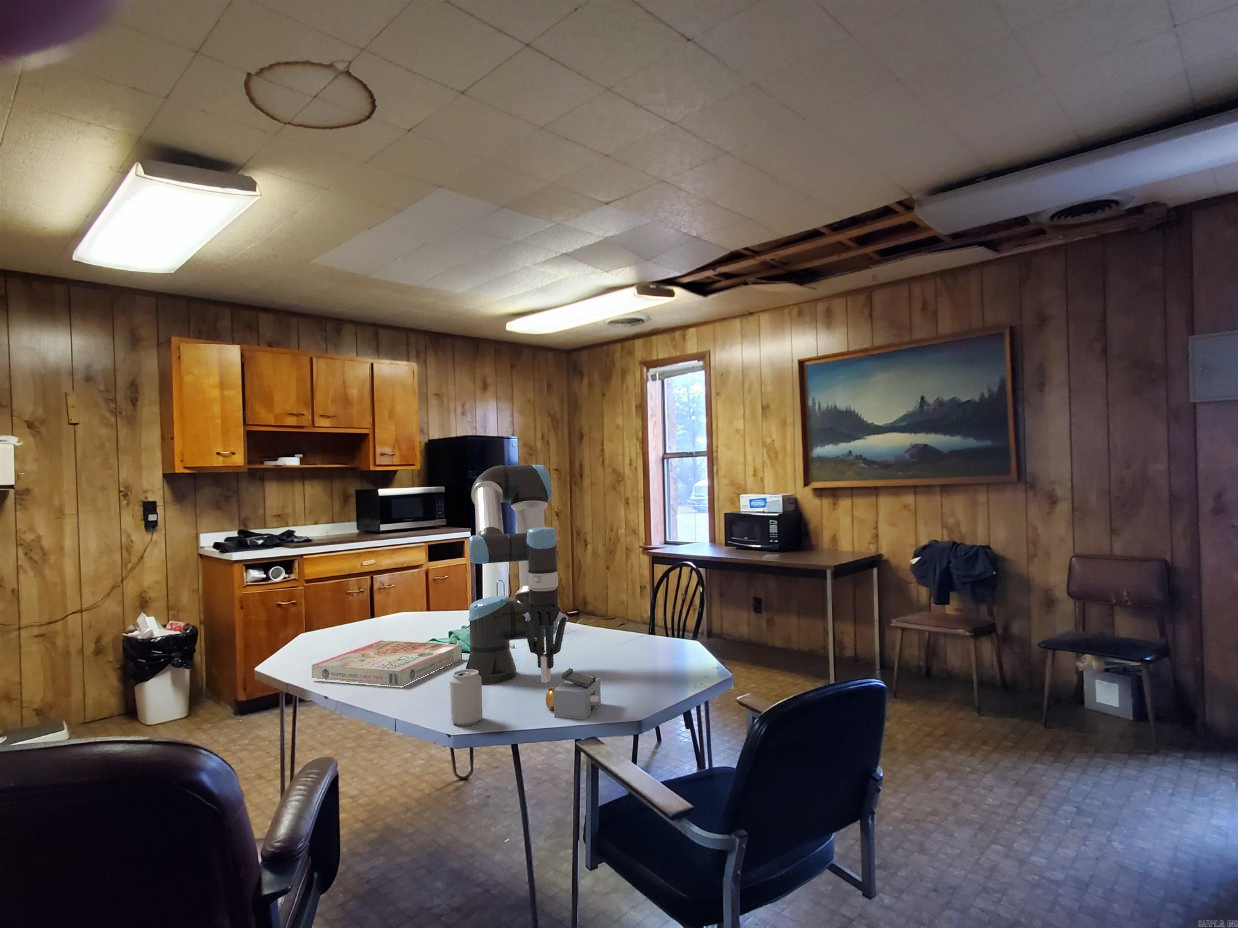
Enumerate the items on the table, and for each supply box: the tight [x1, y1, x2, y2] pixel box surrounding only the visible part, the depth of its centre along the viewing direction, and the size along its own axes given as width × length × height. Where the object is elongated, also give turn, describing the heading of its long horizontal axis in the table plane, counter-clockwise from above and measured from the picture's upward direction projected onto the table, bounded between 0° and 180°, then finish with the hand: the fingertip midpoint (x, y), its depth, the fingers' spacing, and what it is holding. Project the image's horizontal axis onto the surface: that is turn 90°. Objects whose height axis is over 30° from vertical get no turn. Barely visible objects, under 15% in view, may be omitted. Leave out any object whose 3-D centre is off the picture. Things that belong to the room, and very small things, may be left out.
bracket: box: [553, 677, 602, 720], centre depth 175 cm, size 8×12×6 cm, turn 163°
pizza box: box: [311, 640, 463, 686], centre depth 220 cm, size 32×5×32 cm
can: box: [449, 668, 483, 726], centre depth 170 cm, size 8×8×12 cm
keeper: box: [560, 667, 597, 688], centre depth 175 cm, size 7×7×1 cm
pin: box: [545, 687, 600, 709], centre depth 176 cm, size 13×5×5 cm, turn 73°
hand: (546, 680), depth 178 cm, fingers closed
